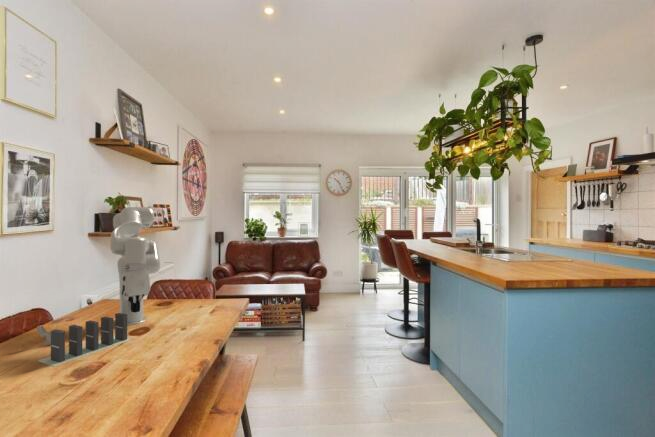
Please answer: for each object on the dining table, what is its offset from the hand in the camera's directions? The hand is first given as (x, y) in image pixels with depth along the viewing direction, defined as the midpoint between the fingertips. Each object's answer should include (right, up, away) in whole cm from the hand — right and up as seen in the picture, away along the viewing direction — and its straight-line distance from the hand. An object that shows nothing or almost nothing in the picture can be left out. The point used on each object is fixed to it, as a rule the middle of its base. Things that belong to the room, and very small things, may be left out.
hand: (135, 311), depth 137 cm
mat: (-8, -10, -15) cm, 20 cm away
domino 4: (-5, -10, -10) cm, 15 cm away
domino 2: (-10, -10, -20) cm, 24 cm away
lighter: (-27, -10, -10) cm, 31 cm away
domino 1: (-12, -10, -25) cm, 29 cm away
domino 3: (-7, -10, -15) cm, 19 cm away
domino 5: (-3, -10, -5) cm, 11 cm away
